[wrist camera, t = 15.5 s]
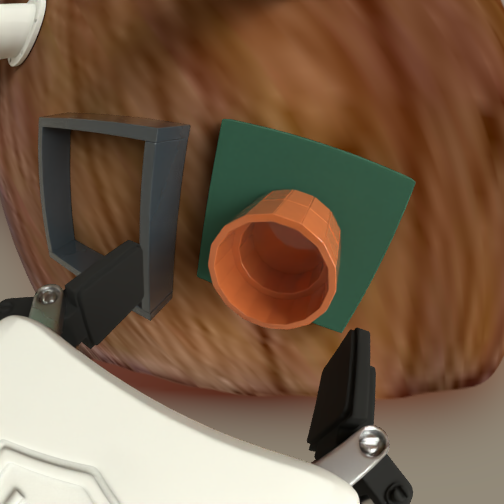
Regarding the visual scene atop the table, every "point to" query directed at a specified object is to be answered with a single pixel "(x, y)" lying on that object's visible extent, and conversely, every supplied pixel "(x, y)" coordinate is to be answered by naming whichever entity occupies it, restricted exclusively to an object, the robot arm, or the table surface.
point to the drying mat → (318, 185)
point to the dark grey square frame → (151, 204)
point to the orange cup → (278, 260)
